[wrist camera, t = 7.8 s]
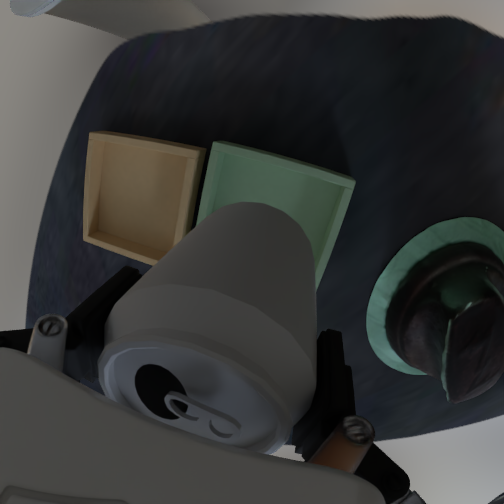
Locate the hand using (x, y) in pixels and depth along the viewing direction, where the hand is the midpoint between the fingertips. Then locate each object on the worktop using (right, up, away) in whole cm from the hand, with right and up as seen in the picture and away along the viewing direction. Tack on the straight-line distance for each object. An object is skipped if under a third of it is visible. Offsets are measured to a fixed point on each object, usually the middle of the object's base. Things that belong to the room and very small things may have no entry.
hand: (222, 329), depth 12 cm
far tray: (-9, +9, +15) cm, 20 cm away
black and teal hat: (+23, -3, +14) cm, 27 cm away
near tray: (+3, +6, +14) cm, 16 cm away
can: (+1, +3, +7) cm, 7 cm away
